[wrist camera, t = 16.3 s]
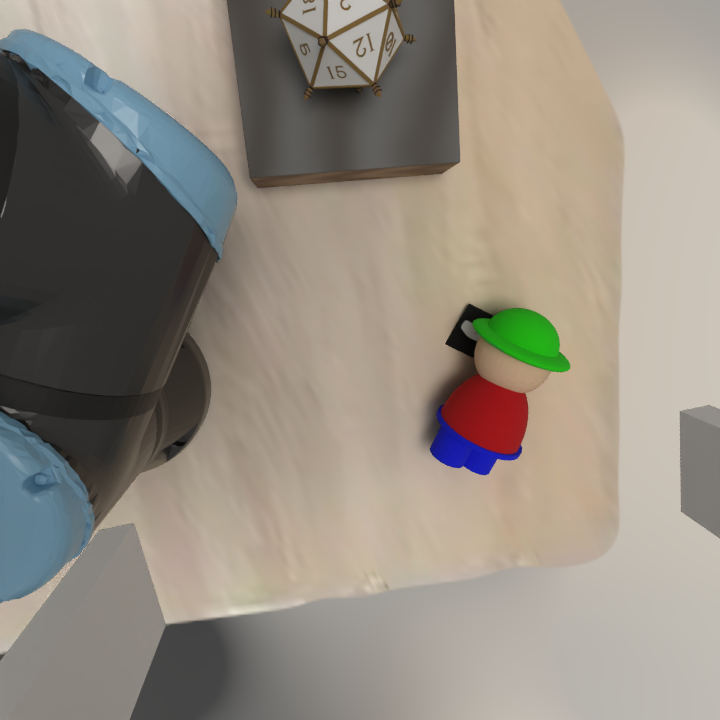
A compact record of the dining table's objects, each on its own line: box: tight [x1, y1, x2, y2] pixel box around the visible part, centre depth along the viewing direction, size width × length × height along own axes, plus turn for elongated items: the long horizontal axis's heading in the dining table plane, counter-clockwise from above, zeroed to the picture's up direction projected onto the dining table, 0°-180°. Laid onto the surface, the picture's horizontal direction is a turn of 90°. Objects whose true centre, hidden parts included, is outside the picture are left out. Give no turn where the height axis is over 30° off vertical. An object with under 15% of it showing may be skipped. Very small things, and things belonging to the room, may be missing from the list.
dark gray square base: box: [227, 0, 460, 188], centre depth 37 cm, size 16×16×5 cm
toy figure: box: [430, 304, 570, 475], centre depth 43 cm, size 9×10×15 cm
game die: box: [264, 0, 417, 101], centre depth 30 cm, size 9×8×10 cm
